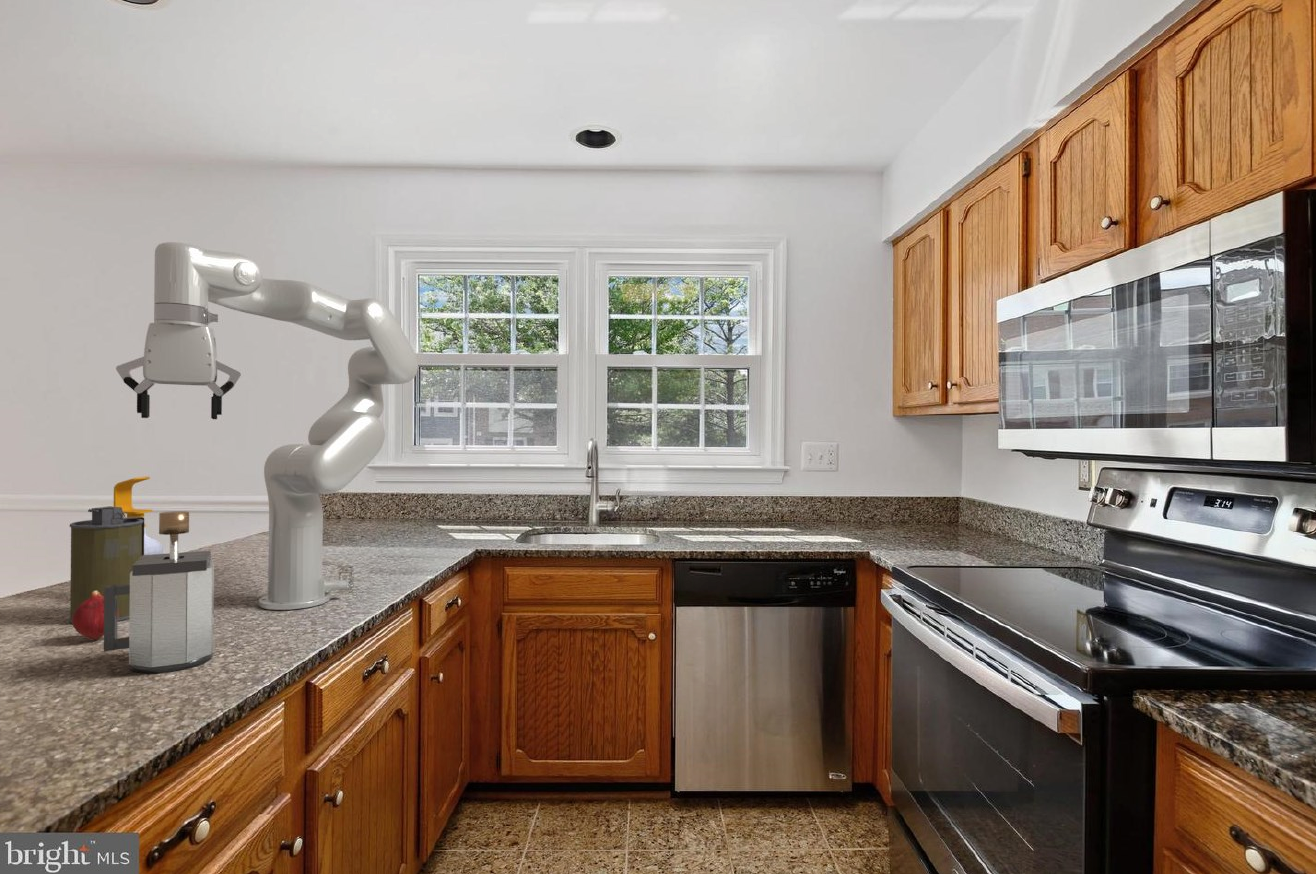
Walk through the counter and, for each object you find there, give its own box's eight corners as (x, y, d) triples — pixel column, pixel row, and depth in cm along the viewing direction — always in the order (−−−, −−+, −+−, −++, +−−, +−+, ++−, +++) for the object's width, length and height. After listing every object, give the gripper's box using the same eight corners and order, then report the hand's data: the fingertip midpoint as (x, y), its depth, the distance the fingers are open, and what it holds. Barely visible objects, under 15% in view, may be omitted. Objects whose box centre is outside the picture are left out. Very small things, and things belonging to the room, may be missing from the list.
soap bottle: (139, 604, 131) (140, 478, 131) (93, 603, 131) (94, 478, 131) (173, 593, 140) (174, 475, 140) (130, 592, 140) (131, 475, 140)
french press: (214, 647, 106) (215, 549, 106) (210, 666, 98) (211, 560, 98) (111, 660, 100) (112, 556, 100) (97, 681, 92) (98, 568, 91)
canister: (92, 627, 116) (93, 512, 115) (54, 621, 119) (55, 508, 119) (158, 612, 126) (159, 505, 126) (121, 606, 129) (122, 503, 129)
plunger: (201, 634, 104) (203, 509, 104) (198, 646, 99) (199, 514, 98) (148, 640, 101) (150, 511, 101) (141, 653, 95) (143, 516, 95)
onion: (127, 637, 111) (127, 588, 111) (87, 647, 106) (88, 596, 106) (103, 633, 113) (103, 585, 113) (63, 643, 107) (63, 593, 107)
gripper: (241, 325, 122) (240, 419, 122) (121, 316, 113) (120, 417, 113) (240, 320, 115) (239, 419, 116) (112, 309, 107) (111, 417, 107)
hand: (180, 418), depth 114 cm, fingers open, 9 cm apart
